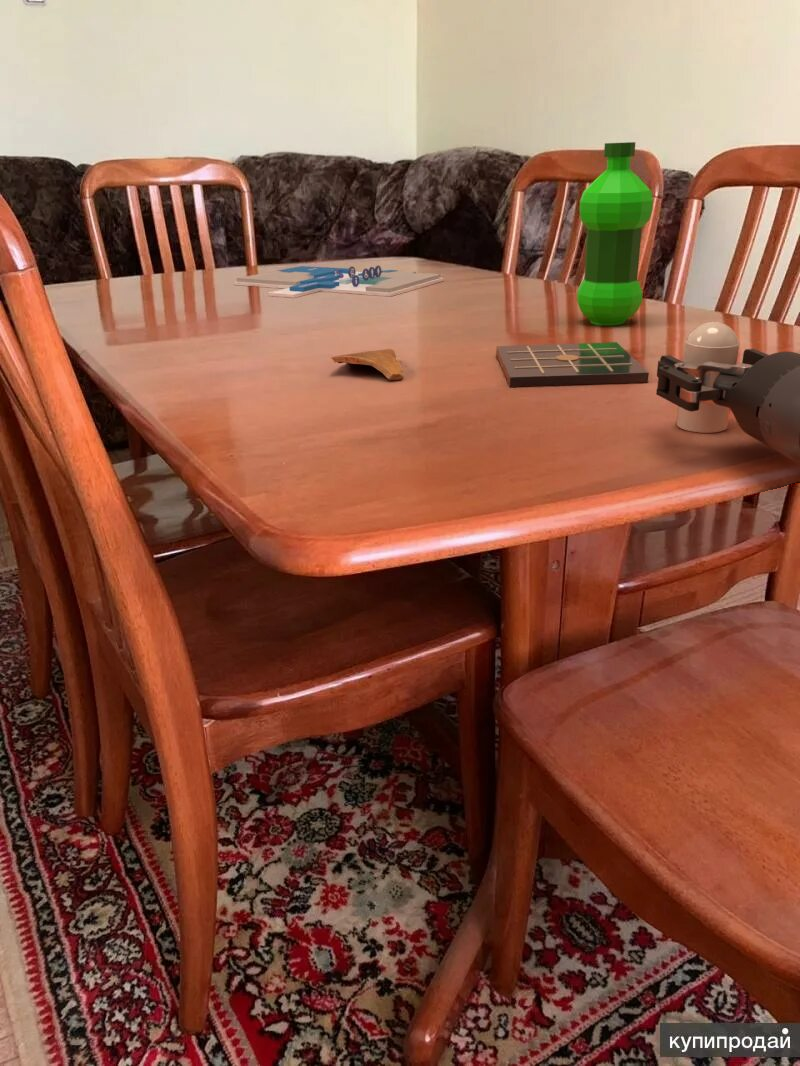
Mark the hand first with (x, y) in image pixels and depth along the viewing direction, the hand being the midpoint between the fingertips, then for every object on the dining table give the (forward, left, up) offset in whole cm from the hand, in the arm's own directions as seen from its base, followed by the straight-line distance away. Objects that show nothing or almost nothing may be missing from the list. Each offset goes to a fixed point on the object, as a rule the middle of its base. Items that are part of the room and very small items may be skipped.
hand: (704, 362), depth 79 cm
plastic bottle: (-2, -50, -6) cm, 50 cm away
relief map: (+45, -97, -6) cm, 107 cm away
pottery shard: (+33, -25, -6) cm, 42 cm away
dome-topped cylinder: (0, +1, -6) cm, 6 cm away
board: (+9, -23, -6) cm, 25 cm away
